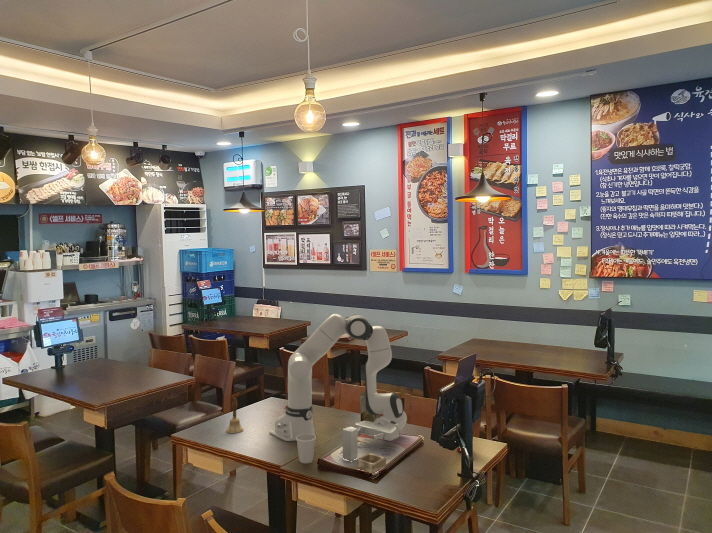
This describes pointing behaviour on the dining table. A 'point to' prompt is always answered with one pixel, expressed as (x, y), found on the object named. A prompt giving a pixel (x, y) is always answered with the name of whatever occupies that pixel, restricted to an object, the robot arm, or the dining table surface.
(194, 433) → the dining table surface
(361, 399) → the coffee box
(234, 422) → the hand bell
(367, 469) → the box
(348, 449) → the peg
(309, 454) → the dixie cup
